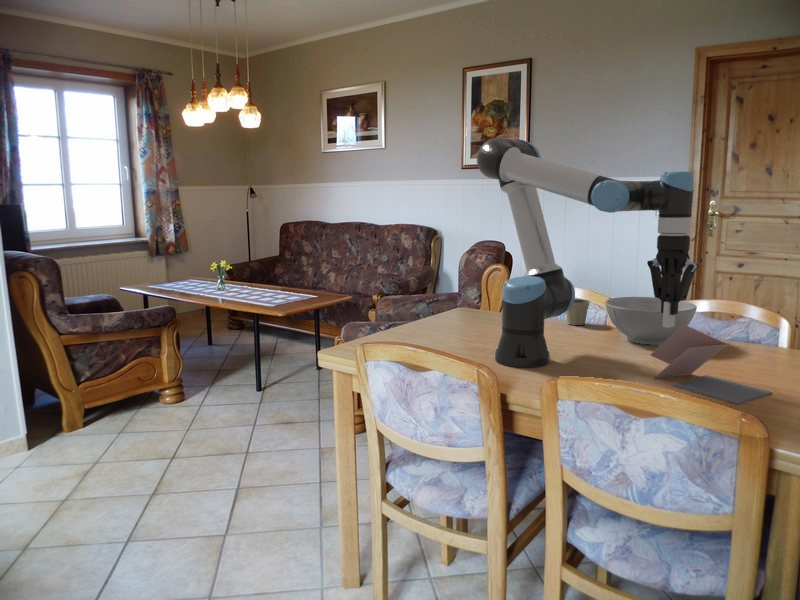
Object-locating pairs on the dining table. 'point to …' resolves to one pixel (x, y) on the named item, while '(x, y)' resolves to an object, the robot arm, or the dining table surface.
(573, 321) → the flower pot
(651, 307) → the decorative bowl
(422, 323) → the dining table surface
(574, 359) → the dining table surface
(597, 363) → the dining table surface
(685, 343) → the greeting card
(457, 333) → the dining table surface
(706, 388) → the mat
